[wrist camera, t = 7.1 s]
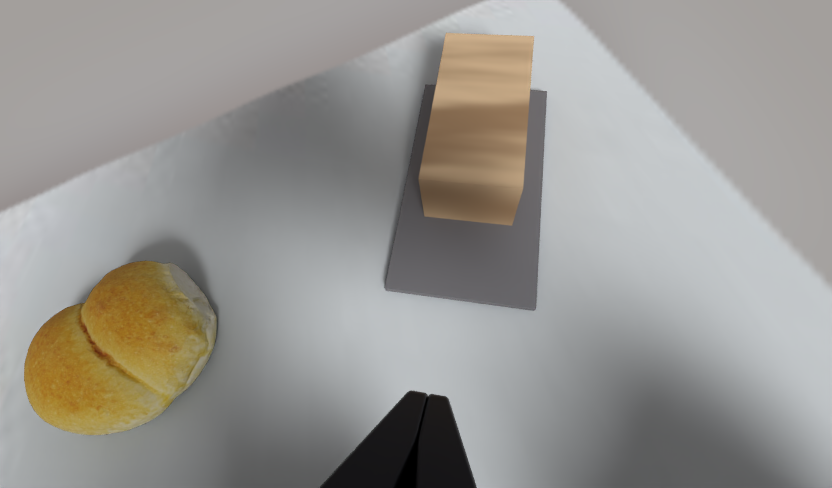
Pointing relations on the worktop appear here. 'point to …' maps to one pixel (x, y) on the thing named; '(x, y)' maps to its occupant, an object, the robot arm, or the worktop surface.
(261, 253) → the worktop surface
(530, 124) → the mat
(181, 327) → the bread roll
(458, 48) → the oak block
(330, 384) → the worktop surface
